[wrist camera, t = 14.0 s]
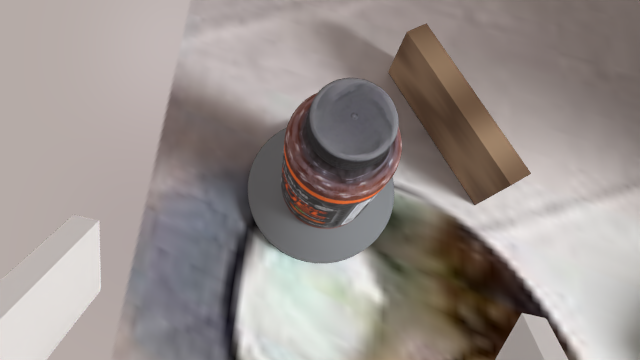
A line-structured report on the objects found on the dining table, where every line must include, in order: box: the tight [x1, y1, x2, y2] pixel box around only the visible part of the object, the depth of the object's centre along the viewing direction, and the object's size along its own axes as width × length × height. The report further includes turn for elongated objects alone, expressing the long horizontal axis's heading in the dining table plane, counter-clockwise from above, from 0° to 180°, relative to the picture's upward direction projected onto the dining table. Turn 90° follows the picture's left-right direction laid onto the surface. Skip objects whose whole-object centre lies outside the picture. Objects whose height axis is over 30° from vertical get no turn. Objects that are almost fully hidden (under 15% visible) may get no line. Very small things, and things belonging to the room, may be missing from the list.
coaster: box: [248, 128, 394, 263], centre depth 30 cm, size 10×10×1 cm
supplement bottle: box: [281, 78, 402, 229], centre depth 24 cm, size 6×6×11 cm
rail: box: [389, 23, 531, 205], centre depth 30 cm, size 12×2×5 cm, turn 29°
